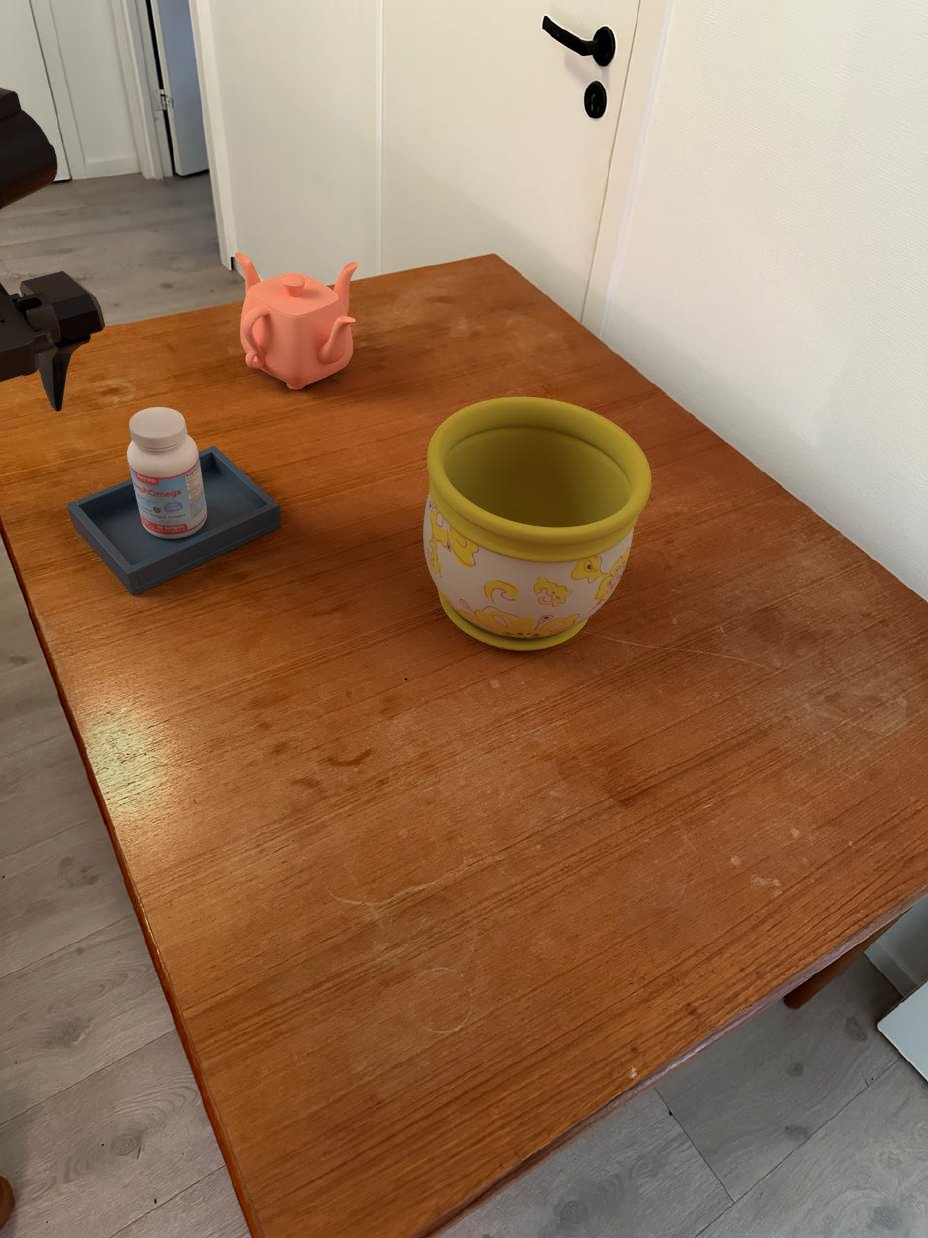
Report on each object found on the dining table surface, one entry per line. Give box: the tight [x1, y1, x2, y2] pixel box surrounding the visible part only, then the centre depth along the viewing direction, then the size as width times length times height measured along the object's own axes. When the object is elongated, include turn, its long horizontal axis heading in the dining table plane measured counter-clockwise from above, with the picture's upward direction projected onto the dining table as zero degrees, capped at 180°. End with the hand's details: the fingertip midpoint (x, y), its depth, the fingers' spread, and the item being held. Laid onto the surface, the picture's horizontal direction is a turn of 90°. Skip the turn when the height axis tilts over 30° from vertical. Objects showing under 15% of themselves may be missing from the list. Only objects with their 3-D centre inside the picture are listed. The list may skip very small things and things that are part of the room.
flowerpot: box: [422, 396, 652, 652], centre depth 75 cm, size 18×18×16 cm
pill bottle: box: [126, 406, 207, 539], centre depth 79 cm, size 6×6×11 cm
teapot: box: [234, 252, 360, 390], centre depth 100 cm, size 14×14×11 cm
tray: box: [65, 445, 282, 597], centre depth 83 cm, size 16×12×3 cm
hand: (1, 427), depth 71 cm, fingers open, 9 cm apart
